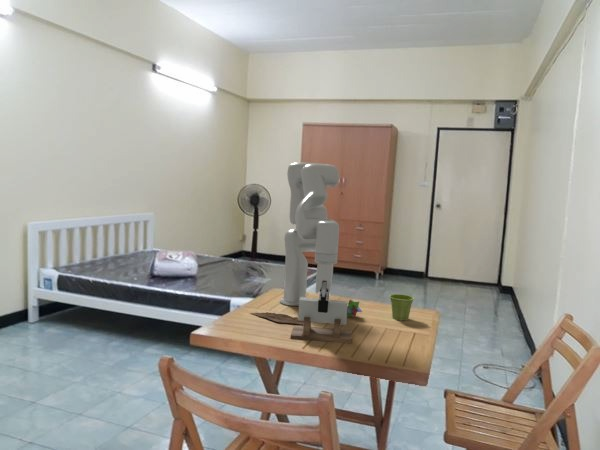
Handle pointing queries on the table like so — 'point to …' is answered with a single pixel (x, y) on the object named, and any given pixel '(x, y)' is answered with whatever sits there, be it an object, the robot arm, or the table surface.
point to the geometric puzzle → (353, 308)
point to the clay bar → (310, 309)
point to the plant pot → (401, 306)
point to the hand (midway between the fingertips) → (323, 308)
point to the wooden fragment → (280, 318)
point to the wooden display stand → (321, 332)
